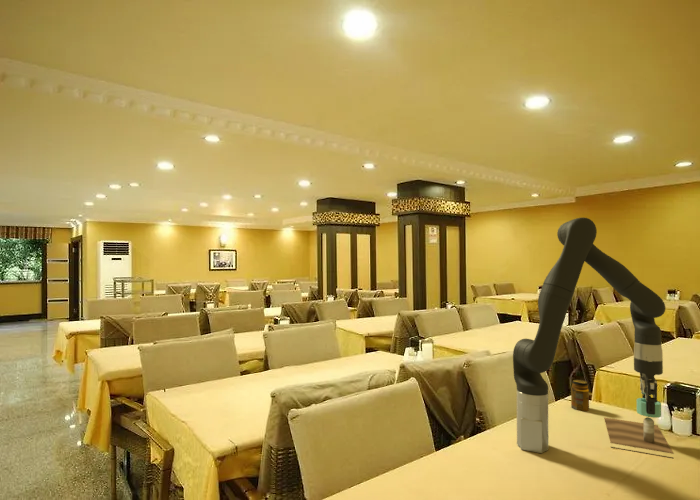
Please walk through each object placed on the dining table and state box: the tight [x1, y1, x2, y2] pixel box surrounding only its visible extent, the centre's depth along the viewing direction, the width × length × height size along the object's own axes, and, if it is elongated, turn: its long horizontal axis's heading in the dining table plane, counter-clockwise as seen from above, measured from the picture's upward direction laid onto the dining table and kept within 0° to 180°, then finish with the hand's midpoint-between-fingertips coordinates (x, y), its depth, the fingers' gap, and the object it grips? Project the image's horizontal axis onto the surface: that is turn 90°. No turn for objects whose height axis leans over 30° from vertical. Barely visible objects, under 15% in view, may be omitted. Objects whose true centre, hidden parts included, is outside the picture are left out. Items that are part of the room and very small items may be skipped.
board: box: [603, 416, 674, 460], centre depth 140 cm, size 24×16×9 cm, turn 153°
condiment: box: [570, 379, 590, 412], centre depth 163 cm, size 7×8×12 cm
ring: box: [636, 397, 662, 418], centre depth 135 cm, size 6×6×4 cm
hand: (648, 410), depth 135 cm, fingers closed on ring, 6 cm apart
